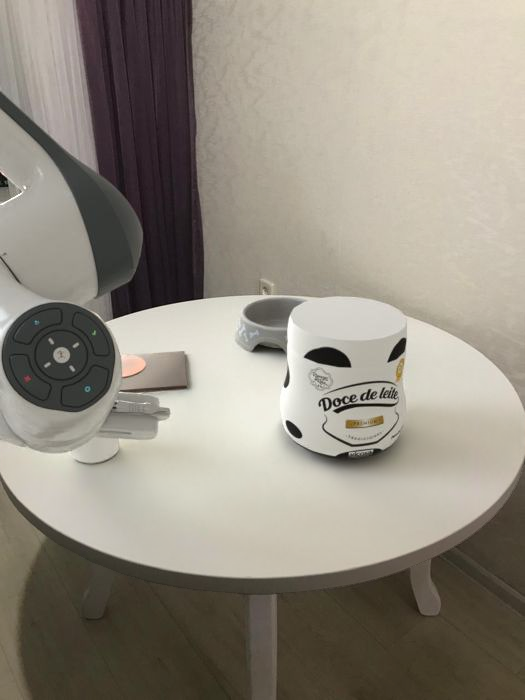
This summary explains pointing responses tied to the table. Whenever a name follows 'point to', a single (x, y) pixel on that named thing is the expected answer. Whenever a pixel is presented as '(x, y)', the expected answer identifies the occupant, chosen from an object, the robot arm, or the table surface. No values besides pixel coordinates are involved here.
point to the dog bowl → (266, 322)
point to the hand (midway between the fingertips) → (54, 424)
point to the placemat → (153, 372)
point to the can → (96, 450)
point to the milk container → (344, 376)
